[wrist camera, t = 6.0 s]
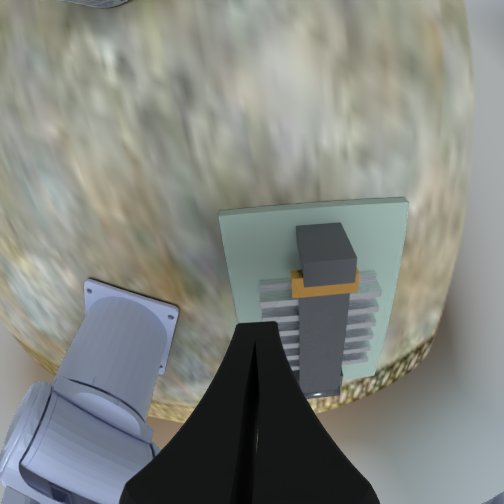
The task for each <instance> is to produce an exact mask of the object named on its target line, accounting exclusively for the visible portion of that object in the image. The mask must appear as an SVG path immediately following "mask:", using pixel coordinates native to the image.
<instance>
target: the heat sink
mask: <svg viewBox="0 0 504 504" xmlns="http://www.w3.org/2000/svg"><path fill="white" fill-rule="evenodd" d="M359 273H360V275H359V285H358V292H354V293H350V299H349V310H348V319H347V328H346V336H345V344H344V352H343V359H342V365H348V364H355V363H362V362H367V361H368V355H367V352H366V351H370V348H371V346H370V342H369V339H373V335H374V334H373V331H372V328H371V327H373V326H376V319H375V316H374V312H378V311H379V305H378V302H377V300H376V297H381V295H382V289H381V287H380V285H379V283H378V280H377V278H376V276H377V275H376V272H375V270H368V271H359ZM260 307H261V308H262V322H265V321H276V322H277V323H278V329H279V334H280V338H281V342H282V345H283V348H284V351H285V354H286V357H287V359H288V362H289V364H290V367H291V369H292V370H299V318H298V298H292V292H291V278H281V279H268V280H260Z"/></svg>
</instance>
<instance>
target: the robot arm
mask: <svg viewBox="0 0 504 504" xmlns="http://www.w3.org/2000/svg"><path fill="white" fill-rule="evenodd" d="M90 289H91V290H90ZM84 300H85V318H84V320H83V322H82V324H81V326H80V328H79V330H78V331H77V333H76V335H75V337H74V339H73V341H72V343H71V345H70V347H69V349H68V351H67V353H66V355H65V357H64V359H63V361H62V363H61V365H60V367H59V369H58V372H57V374H56V376H55V378H54V380H53V382H52V383H51V384H49V383H48V382H46V381H45V380H42V381H41V382H36V383H33V384H32V385H31V386H30V388H29V389H28V391H27V392H26V394H25V396H24V398H23V400H22V402H21V403H20V405H19V407H18V410H17V412H16V414H15V416H14V418H13V420H12V423H11V425H10V428H9V430H8V433H7V436H6V439H5V442H4V446H3V449H2V451H1V455H0V479H1V482H2V484H3V485H4V487H5V492H4V496H3V499H2V502H1V504H380V502H379V499H378V497H377V495H376V493H375V491H374V489H373V488H372V486H371V484H370V483H369V481H368V480H367V479H366V478H365V477H363V475H362V474H361V473H360V472H359V471H358V470H357V469H356V468H355V467H354V466H353V465H352V463H351V462H350V461H349V460H348V459H347V457H346V456H345V455H344V454H343V452H342V451H341V450H340V449H339V447H338V446H337V445H336V443H335V442H334V441H333V440H332V438H331V437H330V435H329V434H328V433H327V431H326V430H325V428H324V427H323V425H322V424H321V422H320V421H319V419H318V418H317V416H316V415H315V413H314V411H313V410H312V408H311V406H310V405H309V403H308V401H307V399H306V398H305V396H304V394H303V392H302V390H301V388H300V386H299V384H298V382H297V380H296V378H295V376H294V374H293V371H292V369H291V367H290V364H289V362H288V359H287V357H286V354H285V351H284V348H283V345H282V342H281V338H280V334H279V329H278V323H277V322H276V321H265V322H248V323H238V324H237V325H236V328H235V331H234V334H233V337H232V340H231V342H230V345H229V347H228V350H227V352H226V354H225V357H224V359H223V361H222V363H221V365H220V367H219V369H218V371H217V373H216V375H215V377H214V379H213V380H212V382H211V384H210V386H209V387H208V389H207V391H206V393H205V394H204V396H203V397H202V399H201V401H200V402H199V404H198V405H197V407H196V408H195V410H194V411H193V412H192V414H191V415H190V417H189V418H188V419H187V421H186V422H185V423H184V425H183V426H182V427H181V428H180V430H179V431H178V432H177V434H176V435H175V436H174V437H173V438H172V439H171V440H170V442H169V443H168V444H167V445H166V446H165V447H164V448H163V449H162V450H160V449H159V447H158V446H157V445H156V444H155V443H153V442H152V441H151V440H152V436H153V431H154V429H153V428H151V427H149V426H148V425H146V419H147V416H148V411H149V407H150V403H151V399H152V395H153V391H154V387H155V383H156V379H157V375H158V374H159V375H162V374H164V372H165V367H166V363H167V359H168V355H169V350H170V346H171V342H172V338H173V334H174V329H175V325H176V321H177V317H178V313H179V309H178V308H177V307H176V306H174V305H170V304H167V303H164V302H160V301H157V300H154V299H151V298H147V297H144V296H141V295H138V294H134V293H131V292H128V291H125V290H122V289H119V288H116V287H113V286H110V285H107V284H104V283H101V282H98V281H95V280H92V279H87V280H86V281H85V283H84ZM170 315H172V316H170ZM257 434H258V441H257ZM482 504H504V492H502V493H500V494H499V495H497V496H496V497H494V498H493V499H491V500H489V501H487V502H484V503H482Z"/></svg>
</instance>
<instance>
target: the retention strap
mask: <svg viewBox="0 0 504 504" xmlns="http://www.w3.org/2000/svg"><path fill="white" fill-rule="evenodd" d="M290 275H291V292H292V298H298V318H299V386H300V388H301V390H302V392H303V394H304V396H305V398H306V399H310V398H320V397H328V396H337V395H340V385H339V380H340V373H341V366H342V359H343V352H344V344H345V336H346V328H347V319H348V310H349V299H350V293H354V292H358V285H359V275H360V273H359V270H358V268H357V267H356V278H355V283H347V284H337V285H327V286H316V287H305V288H304V283H303V273H302V269H301V270H290Z"/></svg>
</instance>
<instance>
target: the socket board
mask: <svg viewBox="0 0 504 504" xmlns="http://www.w3.org/2000/svg"><path fill="white" fill-rule="evenodd" d="M408 208H409V202H408V201H407V199H406V198H405V197H398V198H377V199H358V200H342V201H326V202H312V203H299V204H286V205H274V206H263V207H252V208H241V209H231V210H221V211H219V215H218V218H219V224H220V229H221V235H222V240H223V246H224V251H225V257H226V262H227V268H228V273H229V278H230V284H231V289H232V294H233V299H234V305H235V310H236V315H237V320H238V323H248V322H262V308H261V307H260V280H268V279H281V278H291V275H290V270H301V269H302V273H303V283H304V288H305V287H316V286H327V285H337V284H347V283H355V278H356V267H357V268H358V270H359V271H368V270H375V272H376V275H377V276H376V278H377V280H378V283H379V285H380V287H381V289H382V295H381V297H376V300H377V302H378V305H379V311H378V312H374V316H375V319H376V326H373V327H371V328H372V331H373V334H374V335H373V339H369V342H370V346H371V348H370V351H366V352H367V355H368V361H367V362H362V363H355V364H348V365H342V366H341V373H340V380H339V385H340V387H341V385H342V380H347V379H354V378H361V377H368V376H374V374H375V371H376V367H377V364H378V360H379V357H380V353H381V349H382V346H383V342H384V338H385V334H386V330H387V326H388V322H389V318H390V313H391V309H392V304H393V300H394V295H395V290H396V285H397V280H398V275H399V269H400V264H401V258H402V252H403V245H404V239H405V232H406V224H407V216H408ZM292 371H293V374H294V376H295V378H296V380H297V382H298V384H299V370H292Z"/></svg>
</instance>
